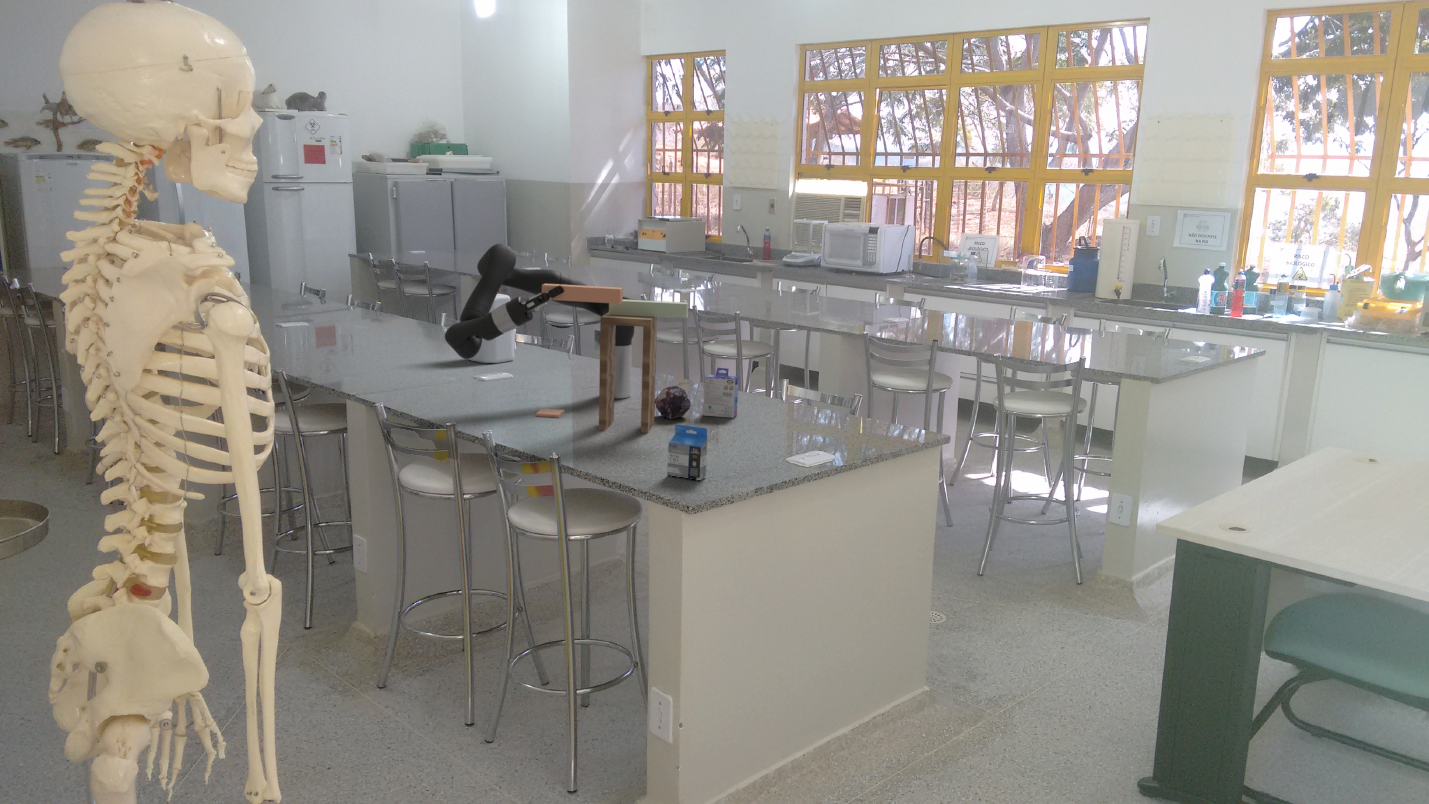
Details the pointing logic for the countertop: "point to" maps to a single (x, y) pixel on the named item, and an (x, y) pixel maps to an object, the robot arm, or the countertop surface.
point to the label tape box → (687, 452)
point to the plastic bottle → (496, 341)
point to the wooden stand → (608, 367)
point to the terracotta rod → (587, 293)
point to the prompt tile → (549, 413)
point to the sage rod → (650, 308)
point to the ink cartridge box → (720, 395)
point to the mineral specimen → (672, 402)
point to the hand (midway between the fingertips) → (564, 287)
